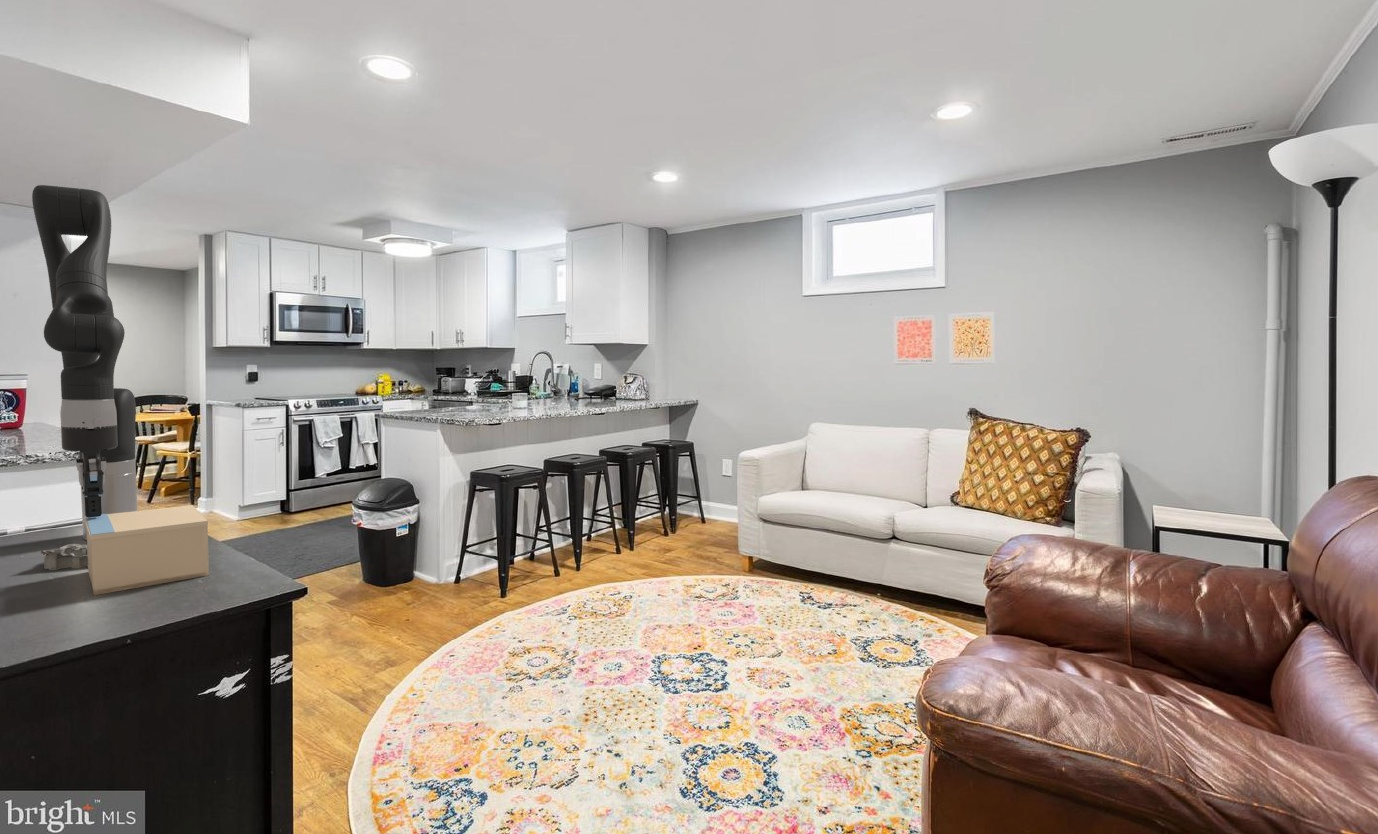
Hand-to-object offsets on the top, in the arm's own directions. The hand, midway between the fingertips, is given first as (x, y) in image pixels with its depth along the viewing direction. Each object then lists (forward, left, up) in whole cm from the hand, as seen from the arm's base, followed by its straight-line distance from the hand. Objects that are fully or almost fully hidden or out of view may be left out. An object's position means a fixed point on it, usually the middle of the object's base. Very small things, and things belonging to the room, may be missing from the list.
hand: (93, 516), depth 119 cm
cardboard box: (+5, +7, -11) cm, 14 cm away
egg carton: (-10, -1, -12) cm, 15 cm away
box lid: (+5, +7, -1) cm, 9 cm away
